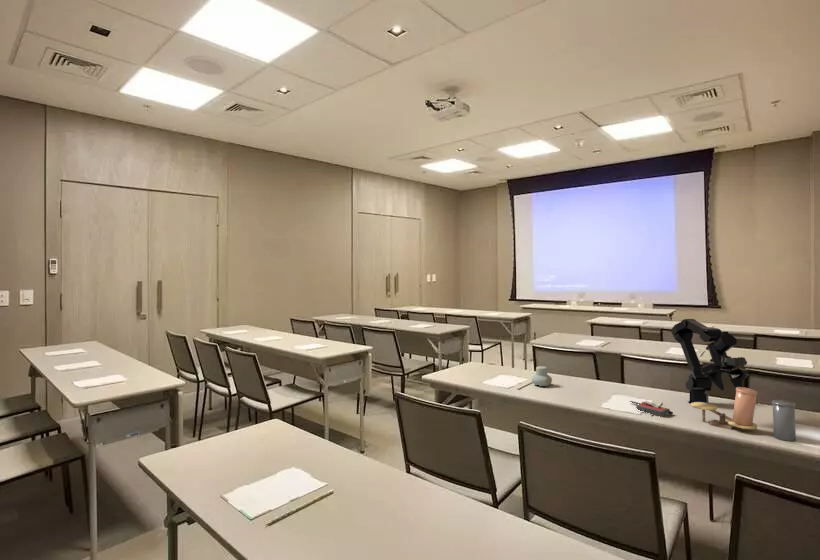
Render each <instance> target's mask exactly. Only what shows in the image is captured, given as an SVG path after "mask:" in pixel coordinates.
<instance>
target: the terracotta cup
mask: <svg viewBox="0 0 820 560" xmlns="http://www.w3.org/2000/svg"><path fill="white" fill-rule="evenodd" d="M757 395H758V391H757V390H755V389H752V388H750V387H749V388H748V387H745V386H744V387H736V388H735V398H734V403H733V405H734V406H733V412H732V413H733V414H732V419H733V420H732V421H733V422H735V423H737V424H740V425H745V426H752V424H753V423H754V422H753V421H754V416H755V408H756V401H757Z"/></svg>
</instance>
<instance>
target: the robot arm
mask: <svg viewBox="0 0 820 560" xmlns="http://www.w3.org/2000/svg"><path fill="white" fill-rule="evenodd" d="M670 331H671V334H672V337H673V339H674V340H675V341H677V342H678V343H679V345H680V346H681V349H682V352H683V354H684V355H683V356H684V358H685V361H686V363H687V366H688V368H689V374H688V380H687V381H686V382H685V388H686V390H689V400H688V401H687V402H688V403H689V404H691V403H692V402H704V403H709V393H708V392H711V391H712V386H713V383H714V385H715V386H716V387H717V388H718V389H719V390H720V391H725V387H724V383H723V379H722V374H724V375H728V377H729V378H730V379H729V381H730V382H731V384H732V385H733V386H734V389H736V387H743V385H744V379H746V378H747V377H748V376H749V375H750V373H749V372H748V370H747V369H745V366H747V364H748V361H747V359H746V358H745V357H742V356H740V357H732V356H729V355H728V354H727V352H728V351H729V350H731V349H732V348H733V347H734V346H736V345H737V343H738V342H737V338H736V337H735V336H734V335H732V334H730V333H729V331H722V330H721V329H720V328H717V327H709V326H707V325H705V324H704V323H703V324H702V323H701V322H699V321H697V320H696V319H695V318H685V319H682V320H681V321H680V322H678V323H675V324H674V325H673V326H672V328H671V330H670ZM694 333H695V334H698V335H699V339H700V340H702V341H703V342H704V343H706V342H707V346H706V347H705V350H706V351H709V355H710V357H711V358H710V359H709V362H710V363H709V364H707V365H704V366H702V364H701V363H700V359H699V357H698V354H697V352H696V349H695V346H694V343H693V341H692V340H693V337H694ZM737 367H738V368H737ZM739 367H742V368H739Z"/></svg>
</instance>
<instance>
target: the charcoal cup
mask: <svg viewBox="0 0 820 560" xmlns="http://www.w3.org/2000/svg"><path fill="white" fill-rule="evenodd" d="M771 404H772V423H773V425H772V426H773V427H772V428H773V437H774V438H775V439H777V440H781V441H787V442H788V441H789V442H794V440H795V441H796V440H797V435H796V433H797V431H796V402H793V401H790V400H784V399H773V400H771Z"/></svg>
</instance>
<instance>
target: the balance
mask: <svg viewBox="0 0 820 560" xmlns="http://www.w3.org/2000/svg"><path fill="white" fill-rule="evenodd" d="M690 406H691V407H692V408H694V409H697V410H702V411H701V413H702V415H701V417H702V419H701V420H702V421H701V422H703V423H706V411H709V412H711V413H713V414H715V415H717V416H719V419H713V420H712V421H710V422H709V423H710V424H709V425H710V426H714V427H718V428H723V429H728V430H733V429H734V428H738V429H740V431H745V430H755V429H757V428H758V425H757V424H756V423H754V422H753V424H752V426H745V425H740V424H737V423H735V422H733V421H732V420H733V418H731V417H729V416H728V415H726V414H725V413H724V412H723V413H721V412H720V411H717V410H718V405H715V404H714V403H713V404H712V403H704V402H692V403H690ZM726 420H728V421H726Z"/></svg>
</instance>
